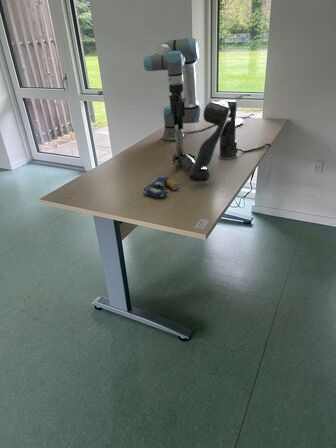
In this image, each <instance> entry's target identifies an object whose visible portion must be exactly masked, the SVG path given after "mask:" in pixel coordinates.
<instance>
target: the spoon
mask: <svg viewBox="0 0 336 448" xmlns="http://www.w3.org/2000/svg"><path fill="white" fill-rule="evenodd" d="M243 122H244V120H243V118H241V117H236V127H237V126H239V125H241V124H243Z"/></svg>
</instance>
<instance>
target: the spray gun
mask: <svg viewBox="0 0 336 448" xmlns="http://www.w3.org/2000/svg"><path fill="white" fill-rule="evenodd" d="M166 186H167V187H168V188H170V189H171V190H172V191H176V190H178V188H179V186H180V184H179V182H177V181H175V179H172V178H168V176H167V175H164V176H163V175H162V176H160V175H157V176H156V178H155V179H154V180H153V181H152V182H150V184H148V185H147V186H145V188H144V189H143V195H146V196H151V197H153V198H155V199H160V198H165V197H166V196H167V194H168V190H166V188H165V187H166Z"/></svg>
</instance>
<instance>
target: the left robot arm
mask: <svg viewBox="0 0 336 448" xmlns="http://www.w3.org/2000/svg"><path fill="white" fill-rule="evenodd" d="M199 51H200V50H199V45H198V41H197V39H196V38H190V37H188V38H179V39H178V38H177V39H171V40H168V41H164V42H163V43H162V44H160V45H159V46H158V47H157V50H156V51H155V52H154V53H153V54H152V55H146V56H144V57H143V68H144V70H145V71H146V72H156V71H167V76H168V78H167V80H168V91H169V93H171V94H170V95H169V96H168V98H169V105H166V106H165V107H164V108H163V121H164V130H163V135H162V139H163V140H164V141H167V142H176V138H175V133H176V129H175V125H178V130H180V129H181V130H182V133H183V138H184V137H185V136H184V134H191V133H198V132H202V131H205V130H207V129H209V128H212V127H214V126H216V125H215V124H211V125H210V126H207V127H204V128H202V129H199V130H193V131H184V132H183V129H184V124H198V123H199V122H200V120H201V114H202V113H201V112H202V105H200V104H199V103H200V102H198V101H197V87H196V86H197V85H196V67H195V66H196V63H198V59H200V52H199ZM182 93H183V95H182ZM251 116H255V115H254V113H251V114H249V115H247V116H242V117H240V118H241V119H245V118H249V117H251ZM229 120H230V119H227V121H229ZM227 121H226V122H227Z"/></svg>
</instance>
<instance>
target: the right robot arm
mask: <svg viewBox="0 0 336 448" xmlns="http://www.w3.org/2000/svg"><path fill="white" fill-rule="evenodd" d="M237 109H238V105H237V102H236V100H220V101H218V102H215V101H209V103H207V104H206V105H205V108H204V110H203V115H202V116H203V120H204V121H205V122H206V123H210V124H211V125H215V126H216V129H215V130H214V131H213V133H212V134H211V135H210V136H209V137H208V138H207V139H205V140H204V141H203V142H202V143H201V145H200V147H199V150H198V153H197V156H196V155H193V154H192V153H188V154H187V153H186V152H184V156H183V157H181V156H177V153H174V154H173V156H172V165H176V164H177V162H178V163H179V164H180V165H181V167H180V168H182V169H183V170H184V171H185V172H187V173H188V178H189V180H190V181H192V182H200V183H201V182H202V183H205V182H207V181H208V180H209V179H210V176H211V175H210V171H209V169H208V168H207V166H210V164H211V161H212V158H213V155H214V152H215V149H216V147H217V144H218V142H219V158H220V159H222V160H232V159H234V158H237V154H238V152H239V151H240V152H241V153H248V152H249V153H250V152H253V151H257V150H260V149H263V148H264V147H266V146H269V147H270V146H271V144H270V143H265V144H263V145H262V146H259V147H256V148H252V149H247V150H243V149H241V148H238V147H237V146H238V143H237V141H236V132H237V131H236V130H237V129H236V127H237V126H236V118H237V111H238V110H237ZM229 118H230V119H229ZM227 120H229V121H227ZM226 121H227V122H226Z"/></svg>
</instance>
